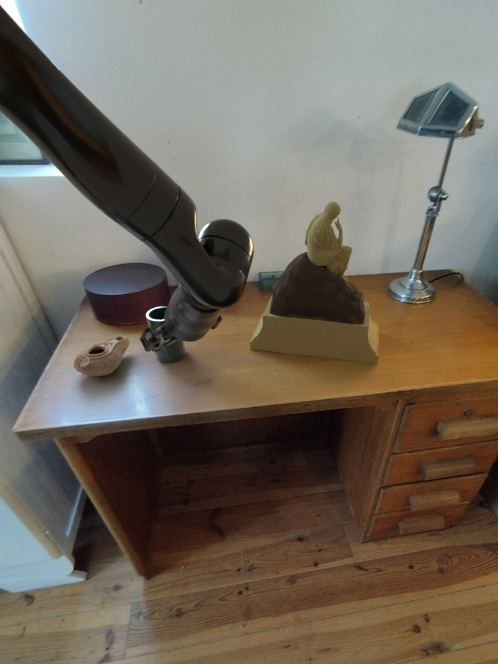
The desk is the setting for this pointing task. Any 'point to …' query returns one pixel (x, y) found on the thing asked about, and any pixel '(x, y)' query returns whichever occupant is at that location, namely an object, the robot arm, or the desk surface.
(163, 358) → the pot
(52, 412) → the desk surface
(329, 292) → the seated thinker statue
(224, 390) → the desk surface
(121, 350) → the pottery oil lamp
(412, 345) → the desk surface
